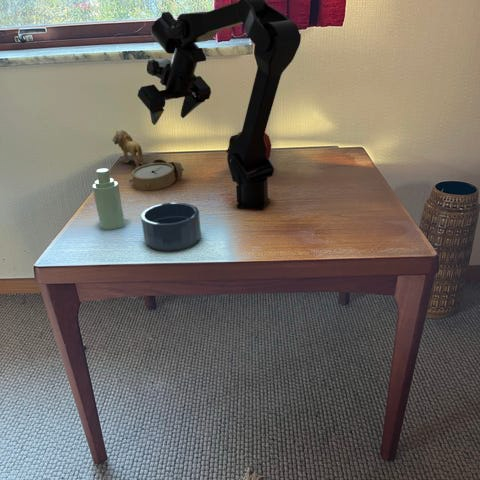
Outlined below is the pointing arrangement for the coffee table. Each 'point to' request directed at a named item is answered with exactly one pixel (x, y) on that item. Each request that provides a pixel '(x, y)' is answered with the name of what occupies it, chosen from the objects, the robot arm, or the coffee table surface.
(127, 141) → the lion figurine
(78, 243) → the coffee table surface
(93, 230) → the coffee table surface
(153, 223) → the pot
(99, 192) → the capped bottle
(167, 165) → the alarm clock
